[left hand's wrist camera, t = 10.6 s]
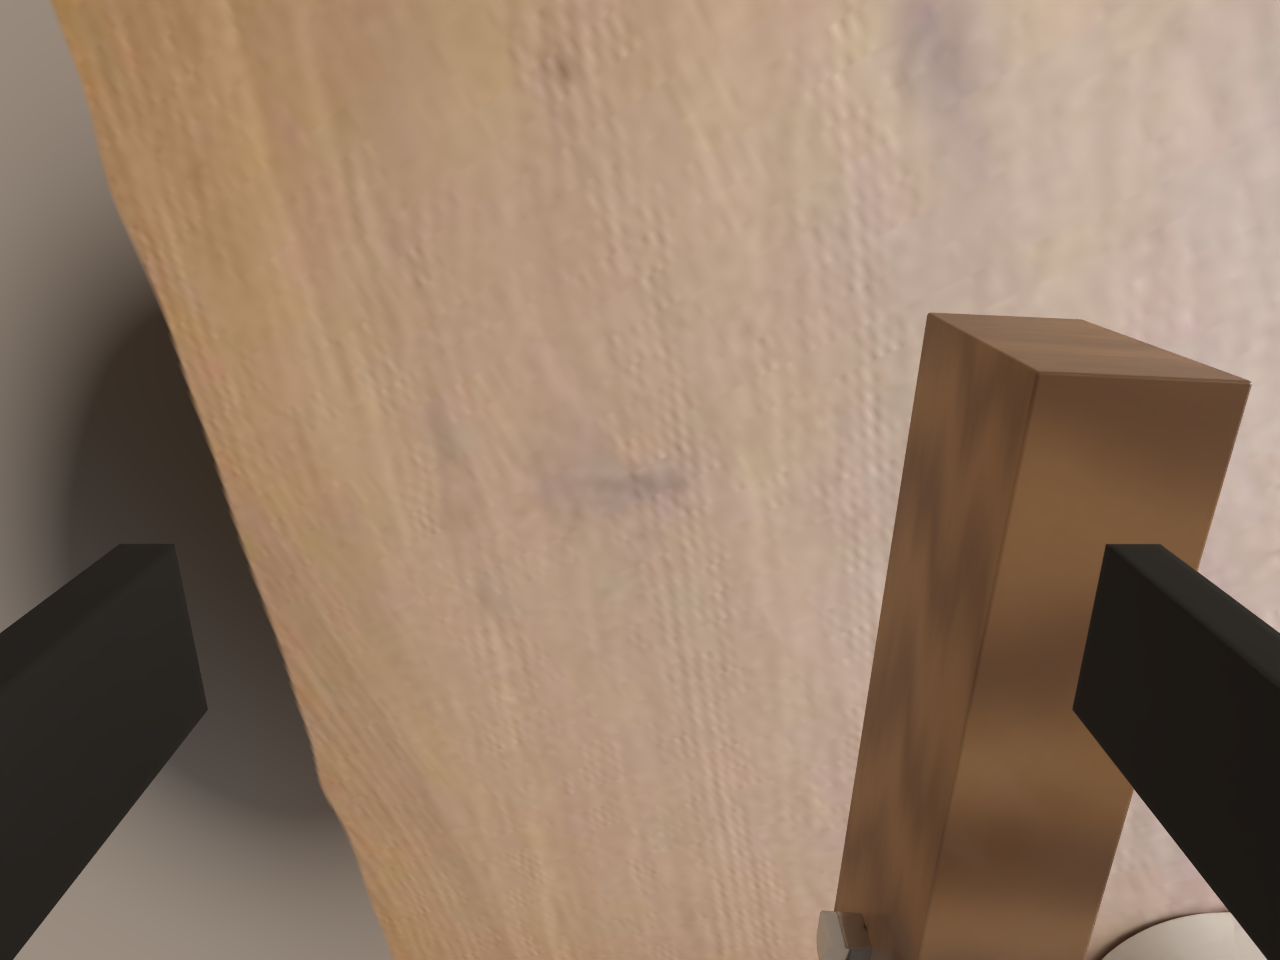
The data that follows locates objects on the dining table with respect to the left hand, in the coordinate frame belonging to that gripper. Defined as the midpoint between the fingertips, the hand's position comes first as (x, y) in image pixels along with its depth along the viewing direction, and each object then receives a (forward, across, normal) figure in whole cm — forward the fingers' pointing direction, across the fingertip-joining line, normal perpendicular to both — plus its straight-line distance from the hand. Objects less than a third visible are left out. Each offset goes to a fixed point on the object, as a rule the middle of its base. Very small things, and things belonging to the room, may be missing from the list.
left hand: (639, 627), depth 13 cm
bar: (+15, +10, -10) cm, 21 cm away
